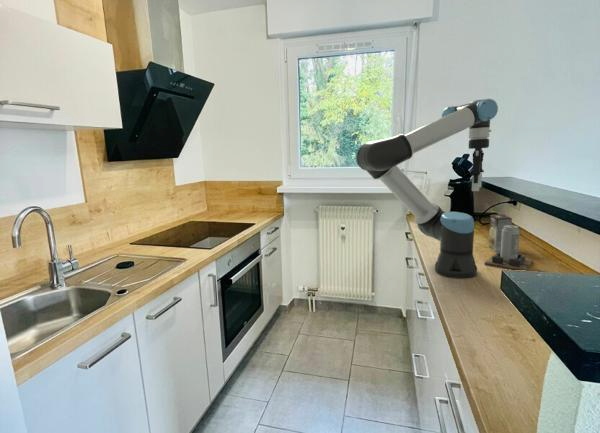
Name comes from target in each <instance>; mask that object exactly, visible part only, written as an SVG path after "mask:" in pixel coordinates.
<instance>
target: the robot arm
mask: <svg viewBox="0 0 600 433" xmlns="http://www.w3.org/2000/svg"><path fill="white" fill-rule="evenodd" d="M498 111H499V107H498V103H497V101H496V100H494V99H493V98H485V99H476V100H471V101H470V102H469V103H464V104H461V105H456V106H454V105H452V106H447V107H445V108H444V109H443V111H442V113H441V118H438V119H436V120H434V121H432V122H430V123H427V124H425V125H424V126H421V127H419V128H417V129H415V130H413V131H411V132H408V133H407V134H403V133H400V134H398V135H396V136H391V137H389V138H383V139H378V140H368V141H366V142H364V143H362V144H360V145H359V147H358V148H357V149H356V151H355V162H356V164H357V166H358V167H359V168H360V169H361V170H364V171H366V172H367V173H368V174H369V175H370V177H372V178H373V179H374V180H380V181H381V182H382V183H383V184H384V185H385V187H387V189H389V191H391V193H392V194H393V195H394V196H395V197H396V198H397V199H398V200H399V201H400V203H402V204H403V206H404V207H405V208H406V209H407V210H408V211H409V212H410V213H411V214H412V215H413V216H414V222H415V223H416V225H417V227H418V230H419V231H420V232H421V233H423V235H425V236H427V237H430V238H433V239H435V240H437V241H439V242H440V246H439V247H440V248H439V250H440V252H439V254H438V257H437V261H436V262H435V265H434V266H435V267H434V270H435V272H436V273H437V274H439V275H440V276H444V277H448V278H453V279H470V278H471V279H472V278H474V277H476V276H477V274H478V266H477V265H476V262H475V261H476V260H475V258H474V238H475V237H474V236H475V220H474V218H473V216H472V215H470V214H468V213H464V212H459V211H447V212H445V211H444V210H443V209H442V208H441V206H439V204H437V203H434V202H432V203H431V201H429V199H428V198H427V197H426V196H425V195H424V194H423V192H422V191H421V190H420V189H419V188H418V187H417V186H416V185H415V184H414V182H412V181H411V179H410V178H409V177H408V176H407V175H406V174H405V173H404V172H403V171H402V170H401V169H400V167H399V166H398V165H400V164H402V163H403V162H406V161H407V160H410V159H412V158H413V155H414V154H416V153H418V152H420V151H422V150H424V149H426V148H429V147H430V146H433V145H435V144H437V143H439V142H441V141H443V140H446V139H447V138H450V137H451V136H454V135H455V134H456V135H457V134H459V133H460V132H462V131H464V130H467V129H468V139H470V140H468V149H469V150H471V149H473V150H474V151H473V153H472V171H471V172H470V176H471V178H472V179H471V191H472V192H480V188H482V181H483V180H482V179H483V173H484V172H485V169H483V162H484V153H485V152H484V151H483V149H489V147H490V139H489V137H490V133H491V132H492V129H490V128H491V120H492V119H494V118H495V117H496V116H497V113H498Z"/></svg>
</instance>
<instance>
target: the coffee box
mask: <svg viewBox="0 0 600 433" xmlns="http://www.w3.org/2000/svg"><path fill="white" fill-rule="evenodd" d="M512 220H513V218H512V217H510V216H509V215H506V214H490V215H489V234H488V247H489V248H490V249H491V250H493V252H496V253H497V252H498V251H501V238H502V229H503V228H504V226H505V225H513V224H512V222H513V221H512Z"/></svg>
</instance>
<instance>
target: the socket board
mask: <svg viewBox="0 0 600 433" xmlns="http://www.w3.org/2000/svg"><path fill="white" fill-rule="evenodd" d="M500 254H501V251H498V252H496V253H494V254H493V255H492V256H491V257H490V258H488V259H487V260H486V261H484V263H483V264H484V266H489V267H493V268H494V267H495V268H499V269H503V270H509V269H511V270H510V271H515V270H526V271H527V270H528V269H529V267H530V266H531V265H532V264H533V261H534V260H533V259H529V258H528V259H527V258H526V255H527V254H522V253H518V260H515V259H509V263H505V262H503V257H500Z"/></svg>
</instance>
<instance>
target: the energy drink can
mask: <svg viewBox="0 0 600 433" xmlns="http://www.w3.org/2000/svg"><path fill="white" fill-rule="evenodd" d="M520 232H521V231H520V229H519V226H518V225H513V224H511V225H505V226H504V228H503V229H502V238H501V254H500V257H503V262H505V263H509V259H515V260H518V254H519V247H520Z"/></svg>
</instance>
